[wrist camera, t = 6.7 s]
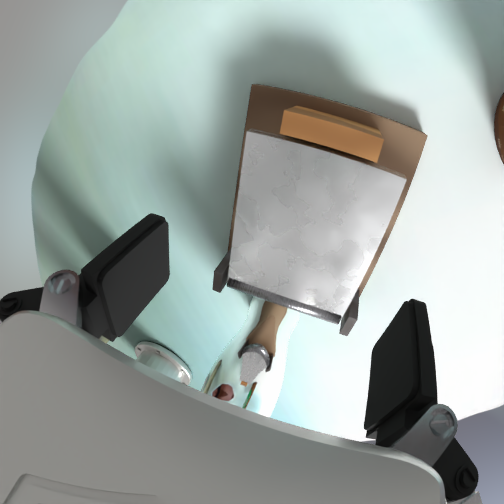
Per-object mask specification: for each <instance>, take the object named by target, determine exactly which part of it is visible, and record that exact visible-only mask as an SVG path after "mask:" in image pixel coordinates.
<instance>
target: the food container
mask: <svg viewBox="0 0 504 504" xmlns="http://www.w3.org/2000/svg"><path fill="white" fill-rule="evenodd" d="M494 132H495V140H496V145H497V149H498V152H499V155H500V157H501V160H502V162H503V164H504V93H503V95H502V96H501V98H500V100H499V103H498V105H497V108H496V113H495V121H494Z"/></svg>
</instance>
